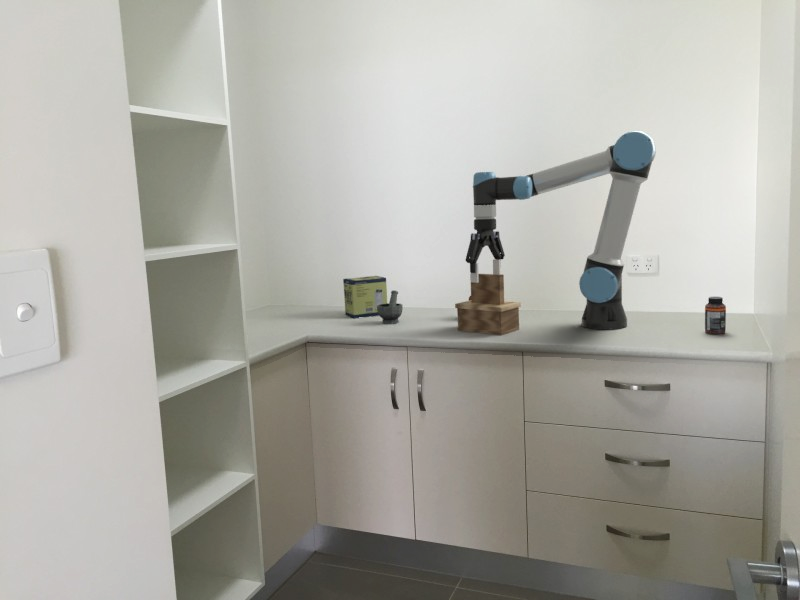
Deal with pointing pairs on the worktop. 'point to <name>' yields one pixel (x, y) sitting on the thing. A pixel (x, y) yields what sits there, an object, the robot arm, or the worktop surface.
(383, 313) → the mortar and pestle
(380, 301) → the protein box
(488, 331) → the box
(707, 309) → the supplement bottle
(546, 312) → the worktop surface
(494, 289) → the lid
